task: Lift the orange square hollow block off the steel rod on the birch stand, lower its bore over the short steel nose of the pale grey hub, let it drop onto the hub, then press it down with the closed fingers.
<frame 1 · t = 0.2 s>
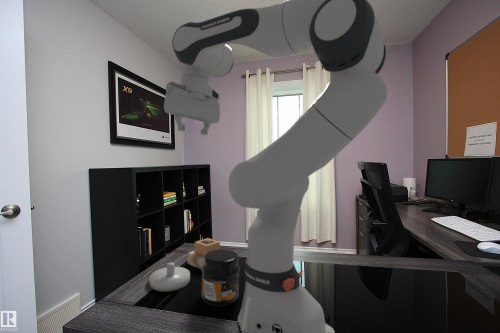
hand: (193, 132, 75), 47 cm above the table, tool pointing down, fingers open, 8 cm apart
stand: (206, 263, 89), on the table
hub: (170, 281, 74), on the table
orange square hollow block: (206, 252, 89), point 4 cm above the table, touching stand
supplement container: (219, 298, 66), on the table
plastic bottle: (259, 261, 92), on the table
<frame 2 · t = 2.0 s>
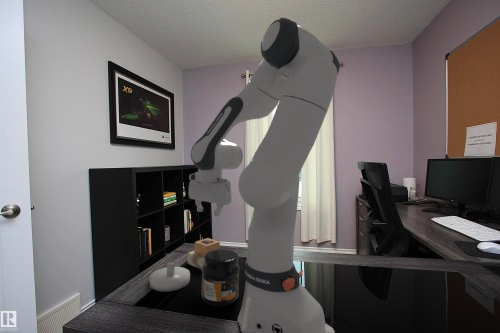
hand: (208, 213, 89), 19 cm above the table, tool pointing down, fingers open, 8 cm apart
nothing on the table moved.
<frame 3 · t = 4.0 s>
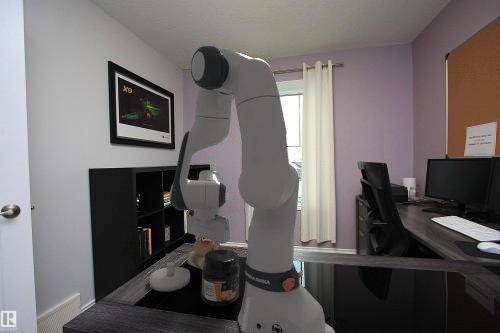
hand: (207, 249, 89), 5 cm above the table, tool pointing down, fingers closed on orange square hollow block, 7 cm apart
orange square hollow block: (207, 252, 89), point 4 cm above the table, touching gripper, stand
everything else where it was.
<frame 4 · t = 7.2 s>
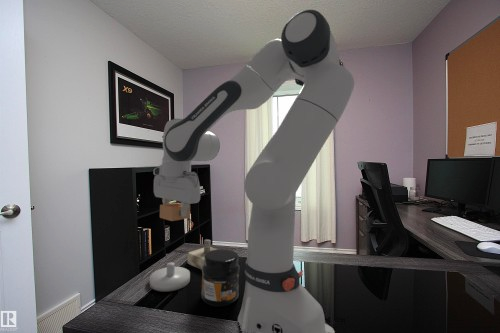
hand: (175, 214, 75), 21 cm above the table, tool pointing down, fingers closed on orange square hollow block, 7 cm apart
orange square hollow block: (174, 217, 75), point 20 cm above the table, touching gripper
everything else where it was.
when the fingers open (4 cm above the table, at t = 10.8 s): orange square hollow block stays where it is, resting on hub.
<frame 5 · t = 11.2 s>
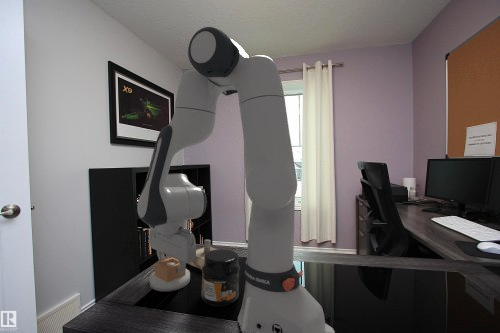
hand: (170, 268, 74), 4 cm above the table, tool pointing down, fingers open, 8 cm apart
orange square hollow block: (170, 275, 74), point 2 cm above the table, touching hub
everything else where it was.
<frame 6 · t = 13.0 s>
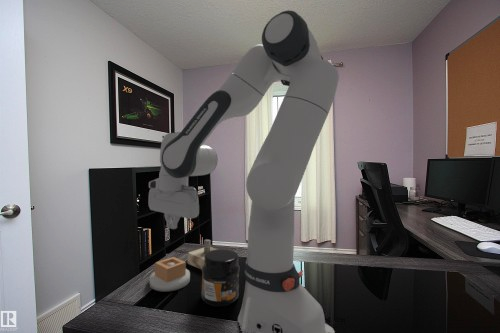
hand: (171, 228, 74), 17 cm above the table, tool pointing down, fingers closed
nothing on the table moved.
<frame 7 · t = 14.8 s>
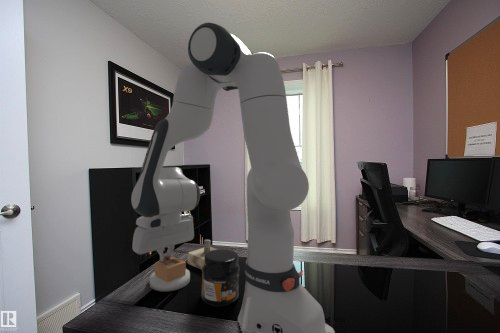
hand: (165, 260, 76), 6 cm above the table, tool pointing down, fingers closed, pressing on orange square hollow block
orange square hollow block: (170, 275, 74), point 2 cm above the table, touching gripper, hub
everything else where it was.
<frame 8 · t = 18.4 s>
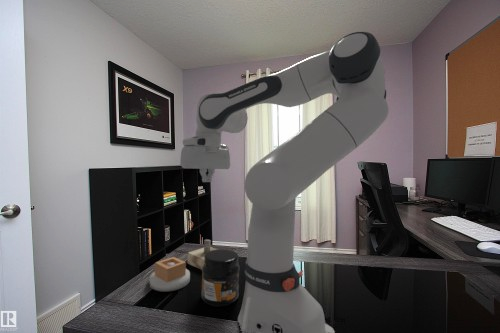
hand: (206, 182, 82), 31 cm above the table, tool pointing down, fingers closed
orange square hollow block: (170, 275, 74), point 2 cm above the table, touching hub
everything else where it was.
at the end: orange square hollow block 0.1 cm off-centre on the hub, point 2.0 cm above the hub's base; orange square hollow block tilted 0°; the gripper is holding nothing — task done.
